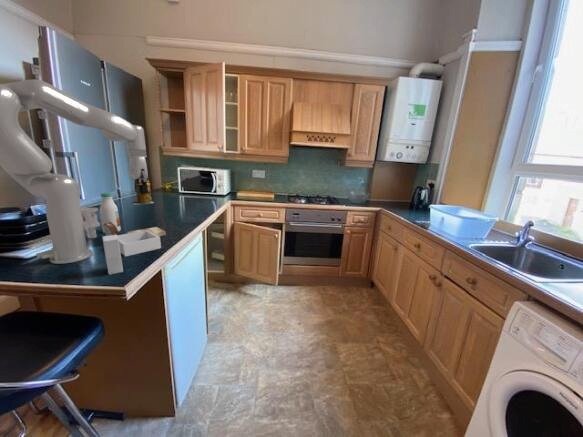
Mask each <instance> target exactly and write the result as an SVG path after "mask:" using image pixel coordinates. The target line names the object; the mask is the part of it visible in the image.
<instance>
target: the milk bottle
mask: <svg viewBox="0 0 583 437" xmlns="http://www.w3.org/2000/svg"><path fill="white" fill-rule="evenodd" d="M100 196H101V199H102V200H101V204H100V205H99V218H100V225H101V229H102V233H103V234H106V233H105V228H104V223H109V222H111V223H113V224H114V225H115V226H116V227H117V230H118V233H119V232H121V229H122V228H121V222H120V221H121V220H120V215H119V210H118V206H117V205H116V203H115V201H114V199H113V193H112V192H102V193H100Z"/></svg>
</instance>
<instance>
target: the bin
mask: <svg viewBox="0 0 583 437" xmlns="http://www.w3.org/2000/svg"><path fill="white" fill-rule="evenodd" d="M117 236H118V240H119V247H120V253H121V255H123V256H124V257H129V256H134V255H138V254H141V253H146V252H150V251H155V250H160V249H162V243H161V236H157V235H155V234H153V233H151V232H150V231H148V230H146V231H140V232H134V233H129V234H127V233H124V234H123V233H122V234H119V235H117Z"/></svg>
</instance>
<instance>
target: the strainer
mask: <svg viewBox="0 0 583 437" xmlns="http://www.w3.org/2000/svg"><path fill="white" fill-rule="evenodd" d="M80 210H81V216H82V222H83V228H84V229H87V235H88V239H95V238H97V237H98V236H97V231H96V228H97V227H100V226H101V222H99V221H98V216H97V213H95V212H98V211H99V208H98V207H86V206H80Z"/></svg>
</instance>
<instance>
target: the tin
mask: <svg viewBox="0 0 583 437" xmlns="http://www.w3.org/2000/svg"><path fill="white" fill-rule="evenodd" d="M104 228H105V233H104V234H105V236H110V235H120V234H119V232H118V230H117V227H116V226H115V225H114V224H113V223H111V222H109V223H104Z"/></svg>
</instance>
